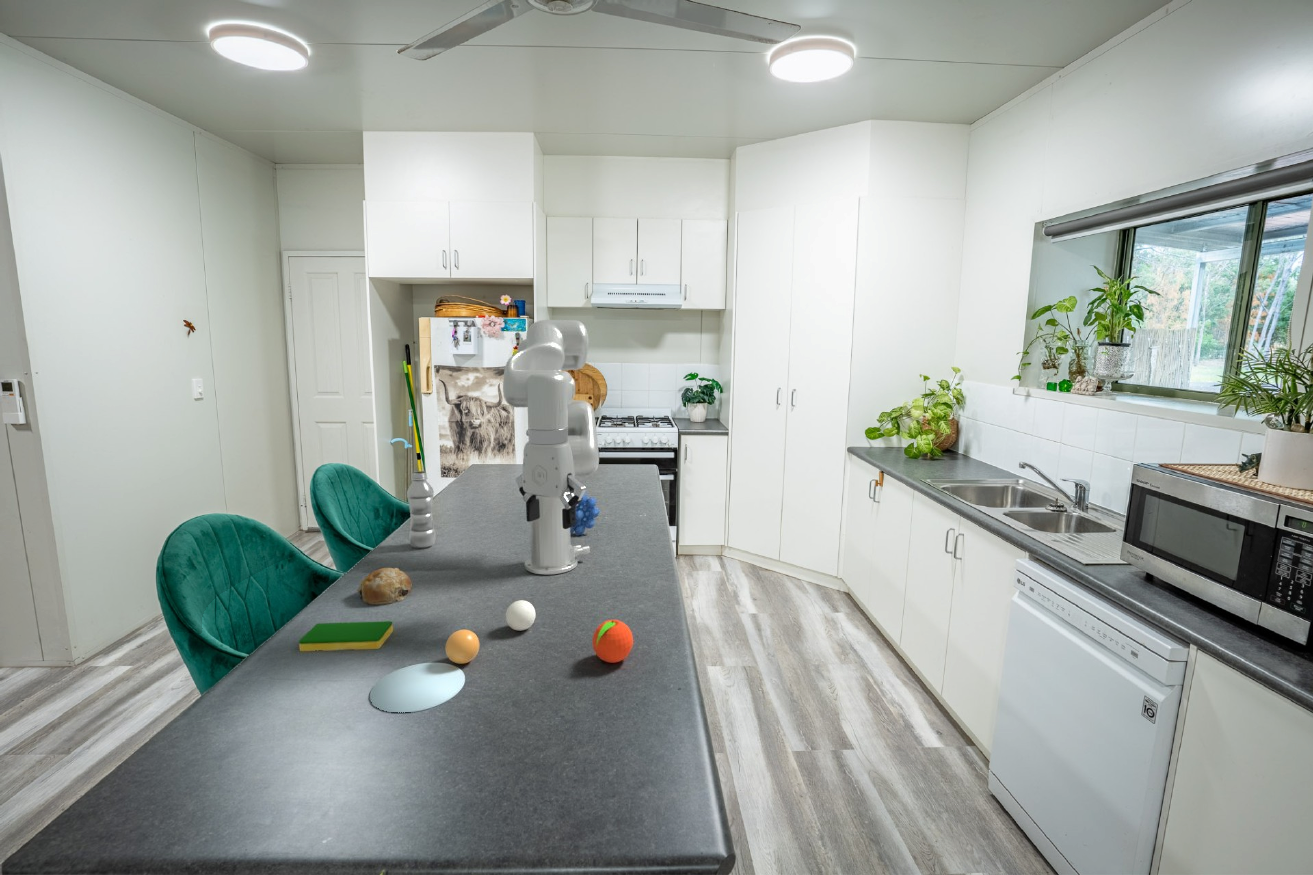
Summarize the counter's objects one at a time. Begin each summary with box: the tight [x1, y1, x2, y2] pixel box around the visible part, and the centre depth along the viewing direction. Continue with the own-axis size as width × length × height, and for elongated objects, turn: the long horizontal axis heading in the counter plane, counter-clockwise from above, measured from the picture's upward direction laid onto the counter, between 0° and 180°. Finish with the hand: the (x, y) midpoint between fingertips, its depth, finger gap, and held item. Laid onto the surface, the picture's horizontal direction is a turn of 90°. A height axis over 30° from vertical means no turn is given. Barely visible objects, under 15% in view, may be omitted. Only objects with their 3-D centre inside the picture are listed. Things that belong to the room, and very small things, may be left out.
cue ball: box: [505, 599, 536, 631], centre depth 117 cm, size 6×6×6 cm
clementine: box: [592, 619, 634, 664], centre depth 105 cm, size 8×7×7 cm
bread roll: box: [356, 567, 413, 606], centre depth 132 cm, size 10×10×8 cm
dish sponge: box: [298, 620, 394, 652], centre depth 113 cm, size 7×14×2 cm, turn 94°
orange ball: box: [445, 629, 480, 665], centre depth 105 cm, size 6×6×6 cm
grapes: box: [570, 492, 600, 536], centre depth 173 cm, size 12×7×12 cm, turn 100°
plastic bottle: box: [406, 470, 437, 549], centre depth 162 cm, size 6×7×20 cm
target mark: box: [369, 662, 466, 714], centre depth 98 cm, size 14×14×1 cm
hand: (550, 523), depth 122 cm, fingers open, 8 cm apart
